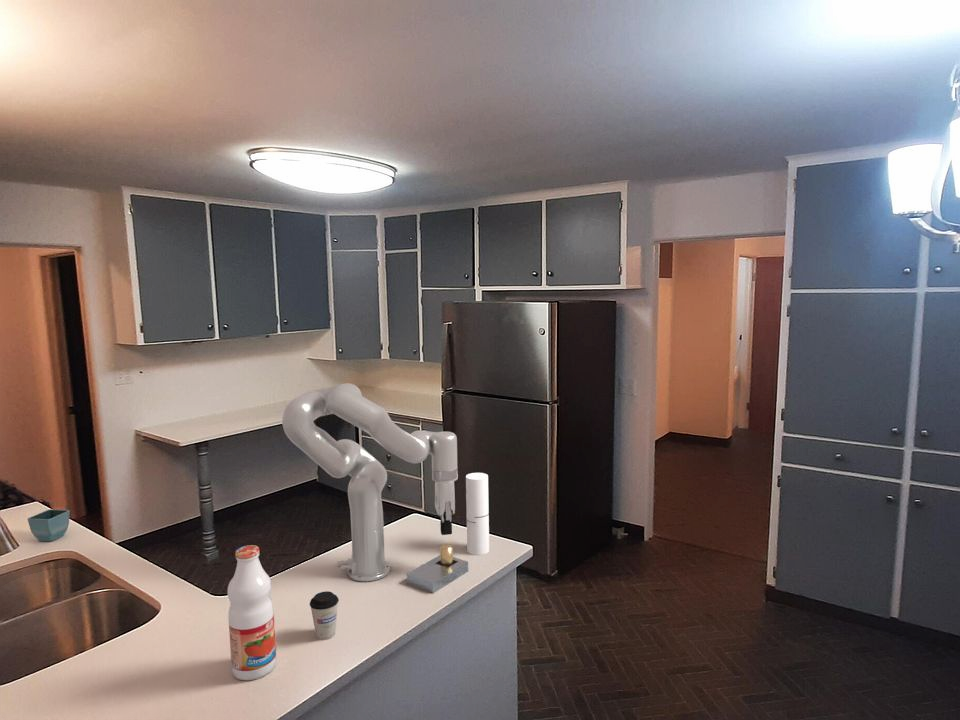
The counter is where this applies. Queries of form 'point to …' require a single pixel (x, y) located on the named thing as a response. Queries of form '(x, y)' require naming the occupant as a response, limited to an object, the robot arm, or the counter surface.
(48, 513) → the flower pot
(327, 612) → the coffee cup
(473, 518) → the cylindrical container
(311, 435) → the robot arm
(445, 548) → the tan cylindrical peg
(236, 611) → the fruit juice
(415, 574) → the jig plate
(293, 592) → the counter surface
